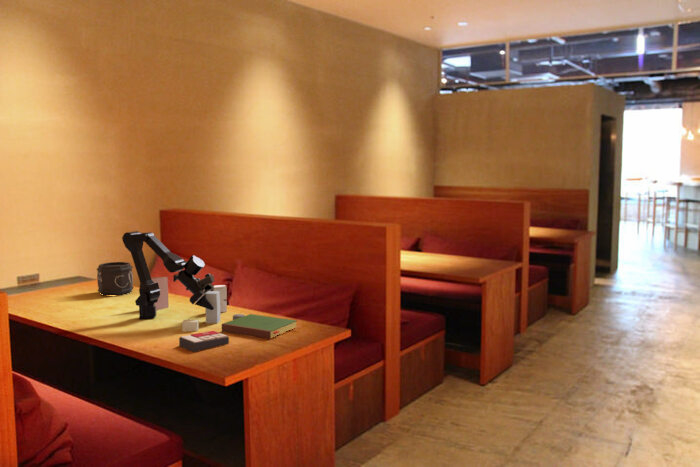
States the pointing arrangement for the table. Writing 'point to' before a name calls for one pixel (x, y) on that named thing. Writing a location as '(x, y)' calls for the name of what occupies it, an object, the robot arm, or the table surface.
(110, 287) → the dark decorated pot
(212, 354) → the table surface
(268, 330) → the hardcover book
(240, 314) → the grey rounded dome
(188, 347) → the calculator
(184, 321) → the cream block
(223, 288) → the skincare box
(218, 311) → the light grey block
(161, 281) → the greeting card
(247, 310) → the table surface
